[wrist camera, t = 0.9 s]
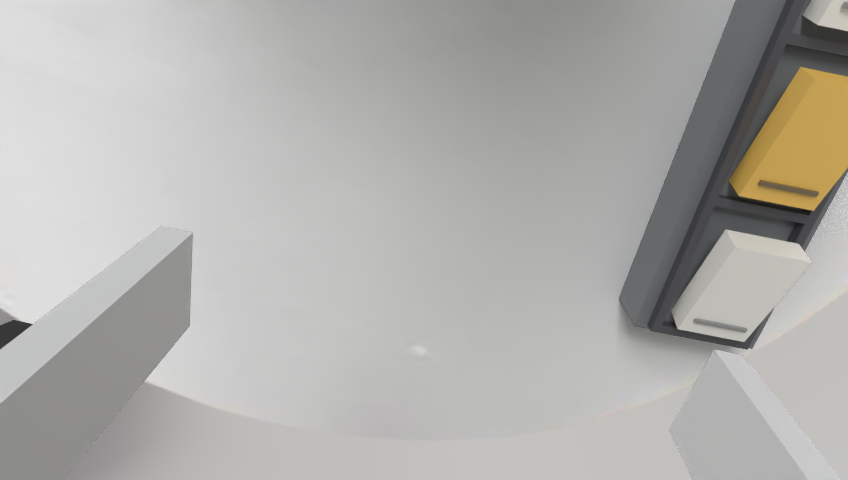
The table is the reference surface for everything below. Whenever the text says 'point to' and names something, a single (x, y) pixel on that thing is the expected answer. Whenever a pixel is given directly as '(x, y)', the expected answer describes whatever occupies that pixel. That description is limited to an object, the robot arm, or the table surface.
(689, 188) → the power strip
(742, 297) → the rocker
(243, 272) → the table surface
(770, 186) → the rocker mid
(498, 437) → the table surface
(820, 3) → the block
